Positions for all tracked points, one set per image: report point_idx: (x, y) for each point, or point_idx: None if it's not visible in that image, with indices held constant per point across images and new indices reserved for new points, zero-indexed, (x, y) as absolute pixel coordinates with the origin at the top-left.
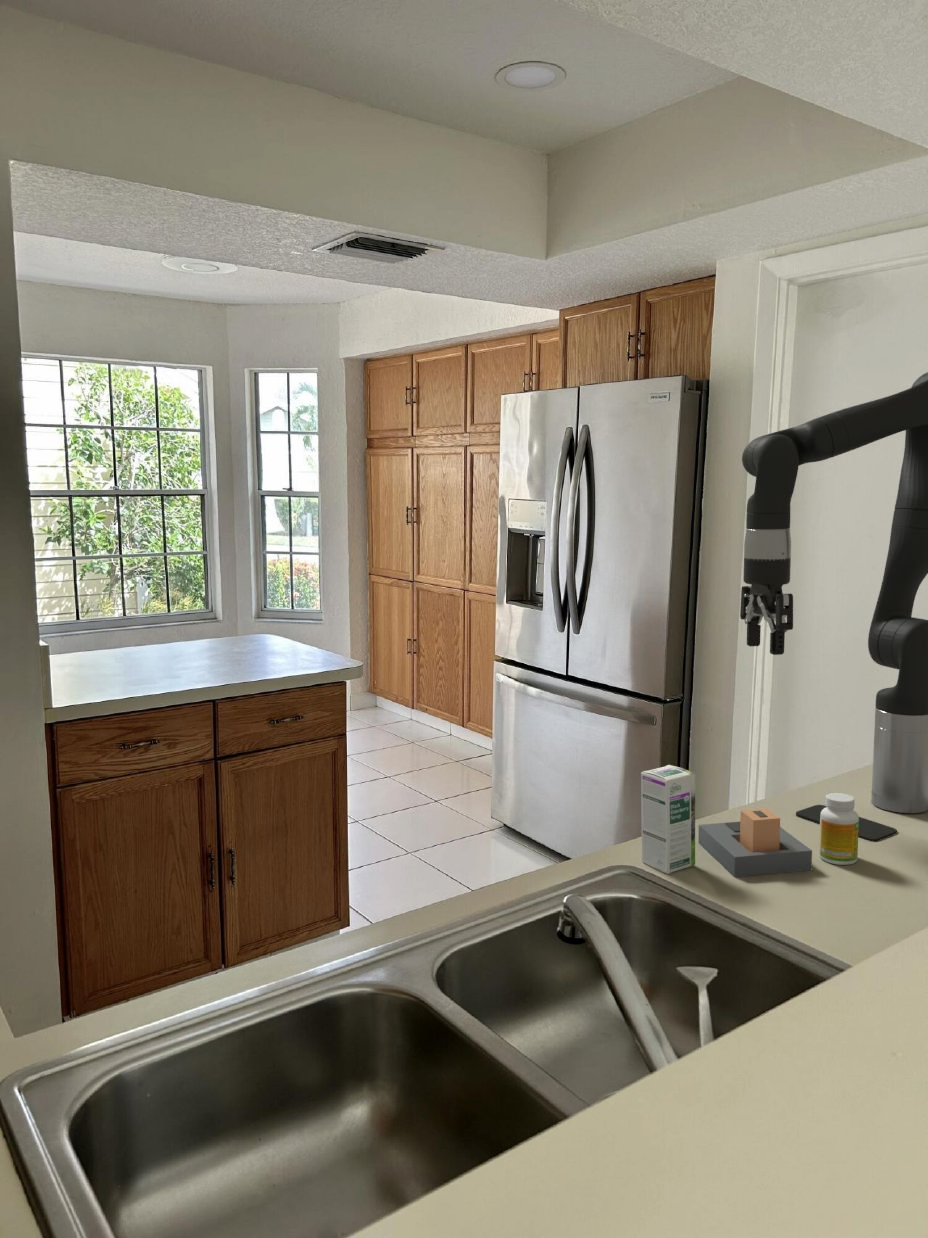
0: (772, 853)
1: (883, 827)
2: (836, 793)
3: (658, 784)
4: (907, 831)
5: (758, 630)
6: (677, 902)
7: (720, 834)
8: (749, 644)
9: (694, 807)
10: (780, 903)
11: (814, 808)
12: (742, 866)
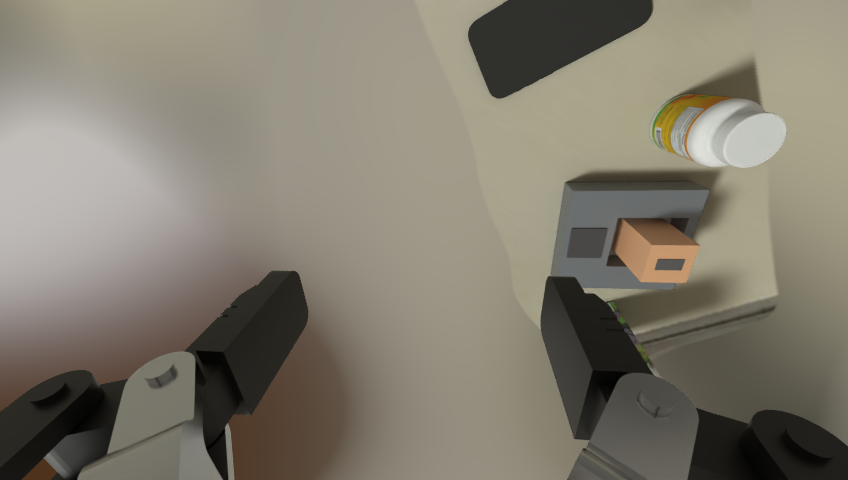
0: None
1: None
2: (733, 137)
3: None
4: None
5: (251, 334)
6: (683, 343)
7: (599, 276)
8: (304, 320)
9: (646, 355)
10: (747, 259)
11: (485, 51)
12: None
